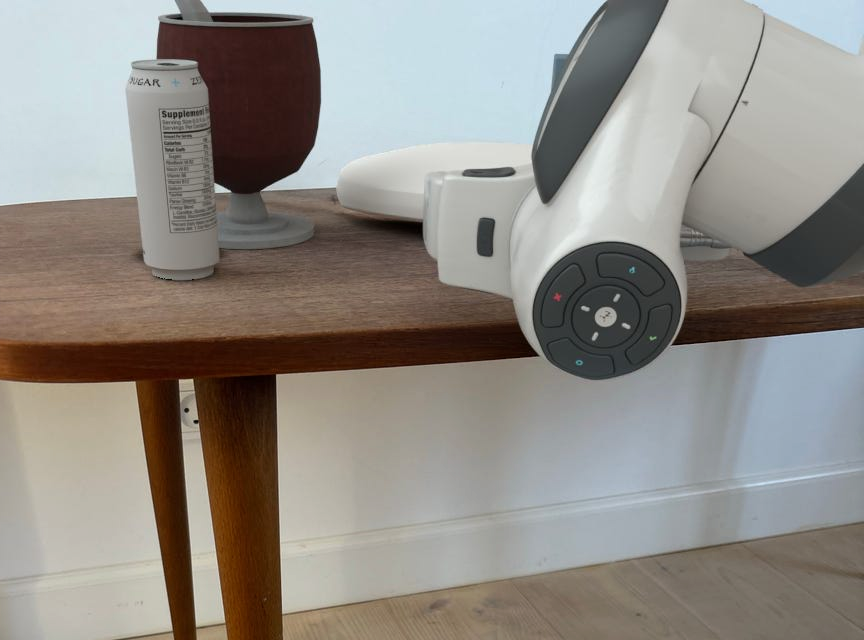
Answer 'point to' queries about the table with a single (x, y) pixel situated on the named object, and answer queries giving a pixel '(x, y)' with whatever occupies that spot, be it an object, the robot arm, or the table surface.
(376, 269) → the table surface
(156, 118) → the energy drink can
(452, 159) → the plate
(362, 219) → the table surface
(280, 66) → the mate gourd
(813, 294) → the table surface
